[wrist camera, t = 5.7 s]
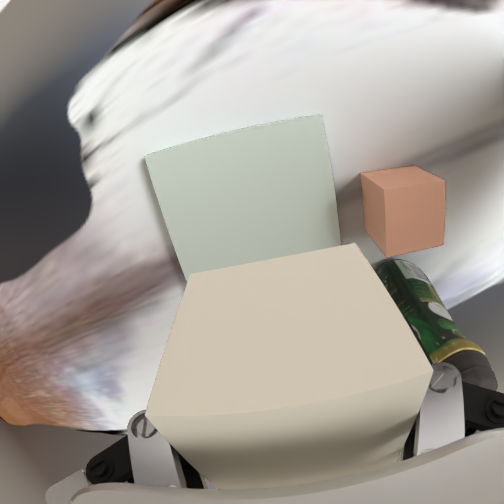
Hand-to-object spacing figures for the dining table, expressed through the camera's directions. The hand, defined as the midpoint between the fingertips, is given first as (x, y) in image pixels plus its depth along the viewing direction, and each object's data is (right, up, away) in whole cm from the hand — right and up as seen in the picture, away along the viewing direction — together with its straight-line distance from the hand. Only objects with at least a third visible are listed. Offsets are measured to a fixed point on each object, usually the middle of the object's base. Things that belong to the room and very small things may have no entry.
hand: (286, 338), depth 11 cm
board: (-1, +7, +17) cm, 19 cm away
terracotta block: (+12, +9, +16) cm, 22 cm away
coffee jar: (+15, -1, +21) cm, 26 cm away
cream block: (0, 0, +1) cm, 1 cm away
